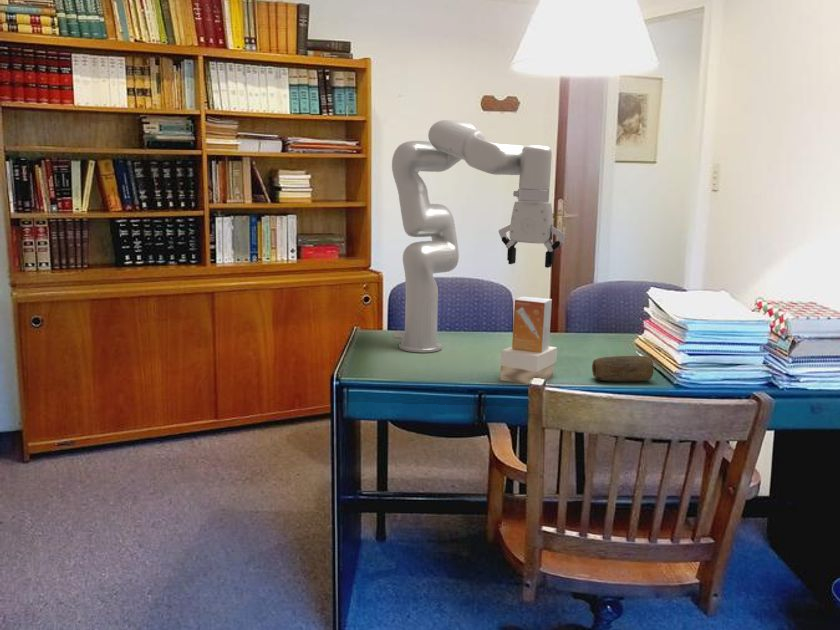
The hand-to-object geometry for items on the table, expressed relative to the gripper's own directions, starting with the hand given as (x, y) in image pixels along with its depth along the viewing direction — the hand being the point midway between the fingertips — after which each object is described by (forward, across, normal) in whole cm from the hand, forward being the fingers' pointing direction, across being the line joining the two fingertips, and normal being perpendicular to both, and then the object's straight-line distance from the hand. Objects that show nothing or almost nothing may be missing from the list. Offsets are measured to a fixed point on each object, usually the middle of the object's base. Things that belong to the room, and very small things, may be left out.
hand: (529, 265), depth 195 cm
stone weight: (+29, +23, +11) cm, 39 cm away
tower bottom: (+30, +1, 0) cm, 30 cm away
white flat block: (+26, +1, +1) cm, 26 cm away
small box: (+22, +1, +1) cm, 22 cm away
